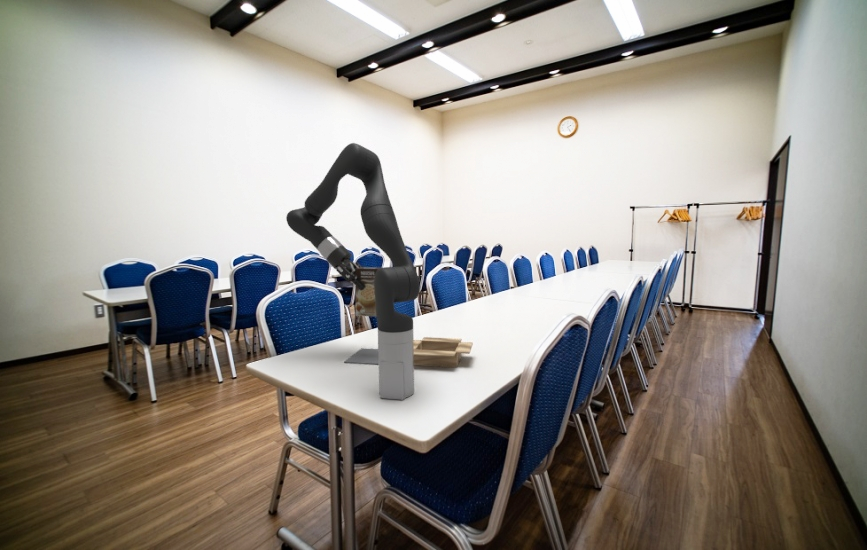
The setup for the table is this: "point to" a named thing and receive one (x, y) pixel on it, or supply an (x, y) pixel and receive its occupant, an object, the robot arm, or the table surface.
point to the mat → (364, 357)
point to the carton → (440, 351)
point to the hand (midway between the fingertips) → (367, 287)
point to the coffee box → (365, 292)
